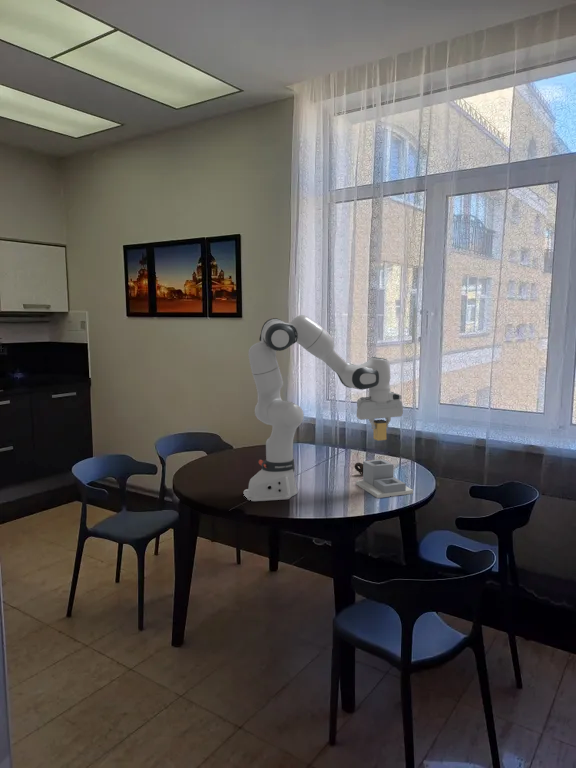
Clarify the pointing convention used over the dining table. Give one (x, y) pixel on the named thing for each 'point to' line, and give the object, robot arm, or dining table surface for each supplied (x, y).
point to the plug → (379, 430)
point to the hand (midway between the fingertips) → (379, 428)
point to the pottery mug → (360, 467)
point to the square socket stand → (381, 480)
